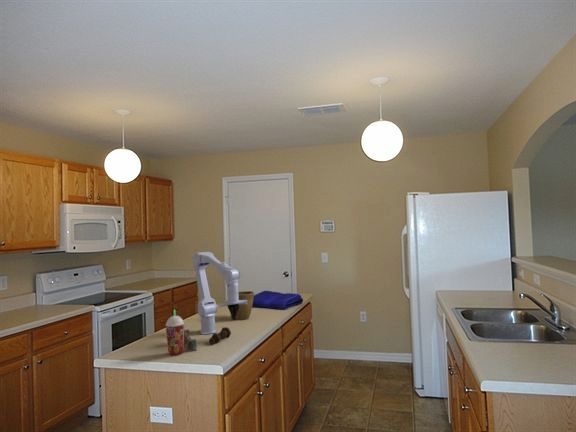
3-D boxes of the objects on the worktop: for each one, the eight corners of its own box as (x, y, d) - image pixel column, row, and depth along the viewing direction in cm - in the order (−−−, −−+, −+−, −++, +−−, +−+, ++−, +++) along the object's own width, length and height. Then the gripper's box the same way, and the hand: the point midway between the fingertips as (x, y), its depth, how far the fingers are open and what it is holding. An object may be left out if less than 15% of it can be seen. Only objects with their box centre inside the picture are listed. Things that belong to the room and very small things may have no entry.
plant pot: (256, 315, 255) (255, 290, 256) (252, 321, 241) (251, 294, 241) (233, 316, 257) (233, 291, 257) (228, 321, 242) (227, 295, 243)
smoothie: (187, 350, 187) (185, 307, 188) (183, 356, 179) (181, 311, 179) (169, 351, 187) (167, 308, 187) (164, 357, 178) (162, 312, 179)
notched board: (183, 339, 205) (182, 330, 205) (189, 339, 206) (188, 329, 207) (189, 351, 185) (189, 340, 185) (196, 350, 186) (196, 339, 186)
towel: (285, 311, 268) (285, 297, 268) (243, 307, 286) (243, 295, 287) (304, 303, 291) (303, 291, 291) (264, 300, 309) (263, 289, 309)
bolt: (210, 348, 194) (225, 339, 209) (218, 344, 193) (232, 334, 207) (204, 338, 195) (220, 329, 210) (212, 333, 194) (227, 325, 208)
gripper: (220, 295, 199) (221, 322, 198) (248, 292, 204) (249, 319, 204) (217, 293, 205) (218, 320, 205) (244, 290, 211) (245, 316, 210)
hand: (233, 319), depth 205 cm, fingers closed
